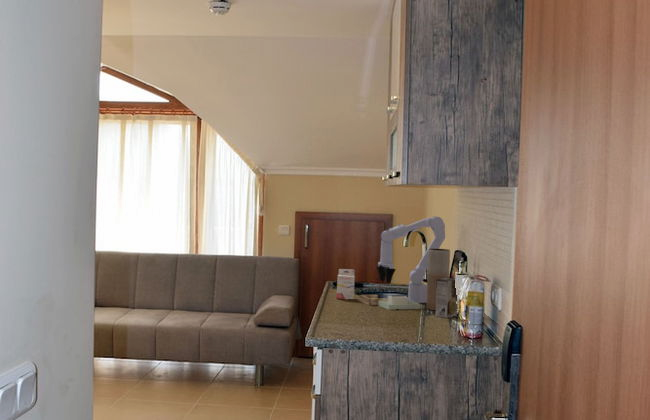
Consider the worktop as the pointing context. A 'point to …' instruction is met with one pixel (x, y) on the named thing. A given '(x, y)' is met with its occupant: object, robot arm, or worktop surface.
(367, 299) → the frame
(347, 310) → the worktop surface
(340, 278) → the ink cartridge box
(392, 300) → the block
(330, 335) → the worktop surface
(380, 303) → the tray
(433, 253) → the tall taupe carton
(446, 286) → the coffee box
